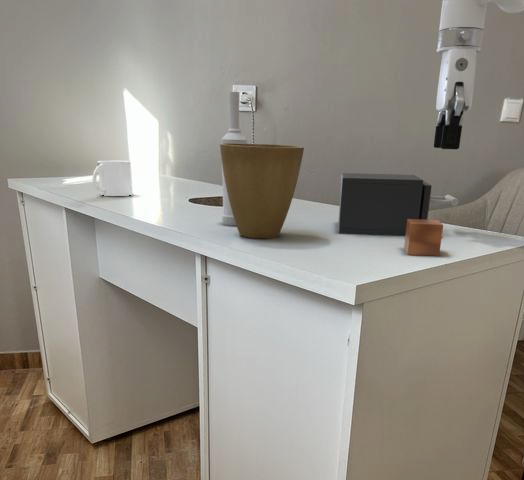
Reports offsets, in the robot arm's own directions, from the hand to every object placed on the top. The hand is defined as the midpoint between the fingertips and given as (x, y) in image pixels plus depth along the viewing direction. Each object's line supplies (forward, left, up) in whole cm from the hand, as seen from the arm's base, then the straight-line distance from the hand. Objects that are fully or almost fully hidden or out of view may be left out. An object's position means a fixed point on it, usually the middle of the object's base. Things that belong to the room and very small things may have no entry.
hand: (445, 147), depth 106 cm
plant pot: (+34, +12, -16) cm, 39 cm away
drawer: (+7, 0, -15) cm, 16 cm away
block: (+6, +22, -16) cm, 28 cm away
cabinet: (+12, 0, -16) cm, 20 cm away
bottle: (+41, 0, -16) cm, 44 cm away
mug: (+84, -43, -16) cm, 96 cm away
